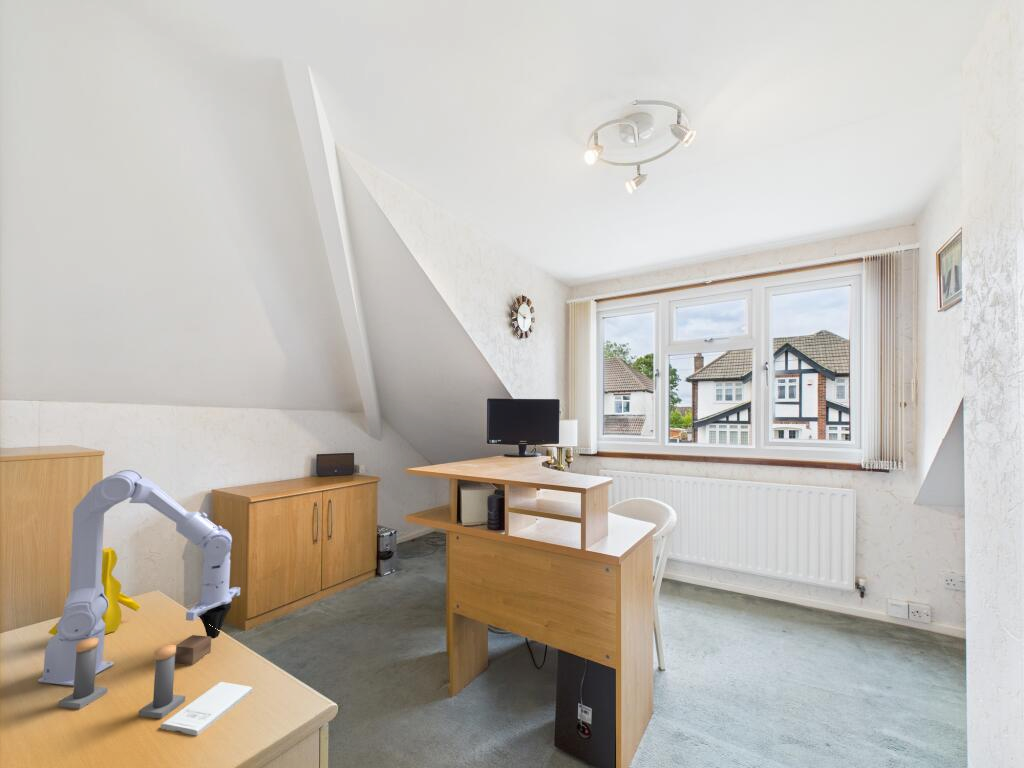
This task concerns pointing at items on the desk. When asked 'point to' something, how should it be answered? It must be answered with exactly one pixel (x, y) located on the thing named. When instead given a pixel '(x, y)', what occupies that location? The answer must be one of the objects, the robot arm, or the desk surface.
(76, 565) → the robot arm
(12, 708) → the desk surface
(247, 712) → the desk surface
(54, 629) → the figure statuette
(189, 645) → the walnut block
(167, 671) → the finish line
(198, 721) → the external hard drive
